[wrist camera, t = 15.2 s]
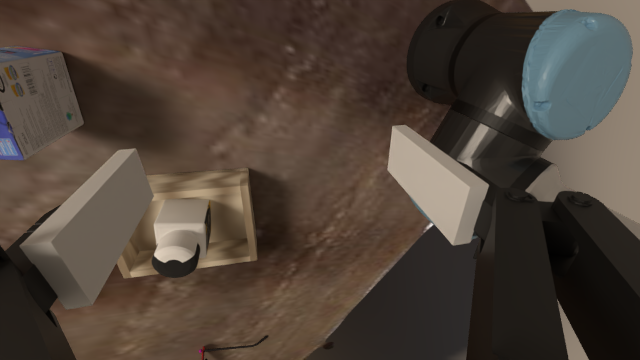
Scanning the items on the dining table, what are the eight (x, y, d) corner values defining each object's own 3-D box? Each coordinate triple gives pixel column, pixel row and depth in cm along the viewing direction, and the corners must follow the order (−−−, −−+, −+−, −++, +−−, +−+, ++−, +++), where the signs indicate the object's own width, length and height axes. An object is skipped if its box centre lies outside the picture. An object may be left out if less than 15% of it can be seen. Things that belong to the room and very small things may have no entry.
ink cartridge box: (8, 44, 34) (-127, 60, 22) (62, 48, 35) (-37, 66, 23) (39, 123, 39) (-58, 172, 27) (85, 124, 40) (13, 172, 28)
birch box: (248, 167, 49) (247, 185, 44) (256, 238, 57) (257, 260, 52) (105, 178, 45) (86, 199, 39) (136, 253, 53) (123, 278, 47)
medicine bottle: (211, 230, 52) (201, 282, 42) (168, 231, 51) (148, 285, 40) (210, 198, 49) (200, 246, 39) (165, 197, 47) (141, 247, 37)
